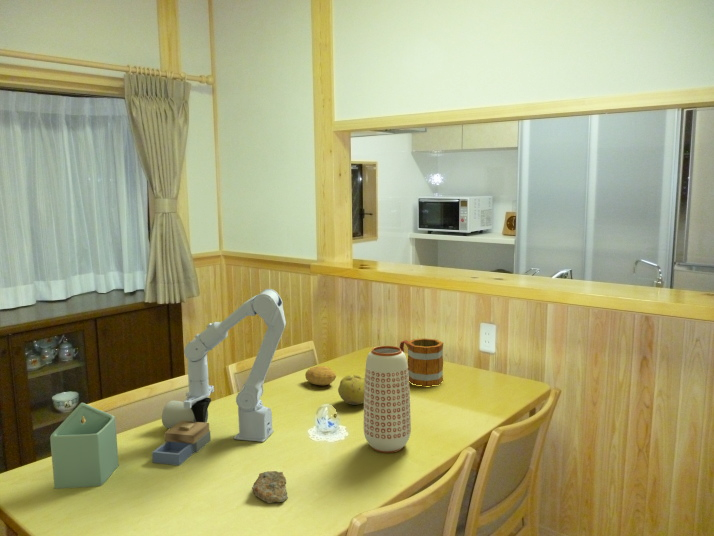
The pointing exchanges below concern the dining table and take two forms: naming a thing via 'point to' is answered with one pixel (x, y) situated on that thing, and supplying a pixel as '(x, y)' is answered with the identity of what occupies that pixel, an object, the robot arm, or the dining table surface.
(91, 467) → the planter
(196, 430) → the lid
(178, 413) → the mug
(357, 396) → the fruit
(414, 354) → the mug
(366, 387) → the vase
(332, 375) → the potato
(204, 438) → the stand
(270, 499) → the rock
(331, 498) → the dining table surface
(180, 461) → the blue open tray
